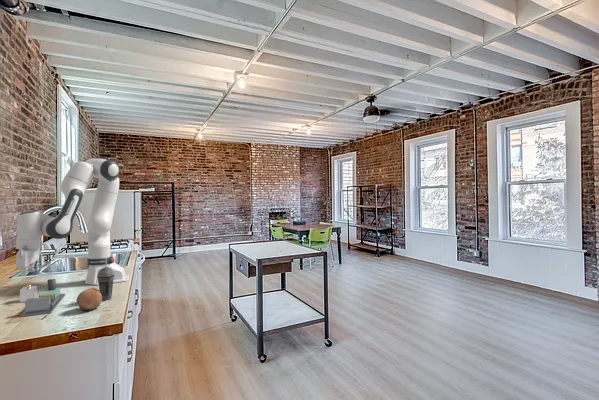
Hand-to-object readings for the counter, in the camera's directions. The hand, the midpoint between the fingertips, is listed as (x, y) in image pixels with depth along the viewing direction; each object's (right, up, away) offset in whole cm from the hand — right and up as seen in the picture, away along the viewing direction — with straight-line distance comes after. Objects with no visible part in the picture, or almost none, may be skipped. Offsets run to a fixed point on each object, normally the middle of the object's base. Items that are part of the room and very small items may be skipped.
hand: (27, 273), depth 149 cm
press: (+13, -13, -6) cm, 20 cm away
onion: (+37, -14, -10) cm, 40 cm away
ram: (+10, -12, +1) cm, 16 cm away
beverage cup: (+36, -13, +3) cm, 38 cm away
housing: (0, -13, +1) cm, 13 cm away
